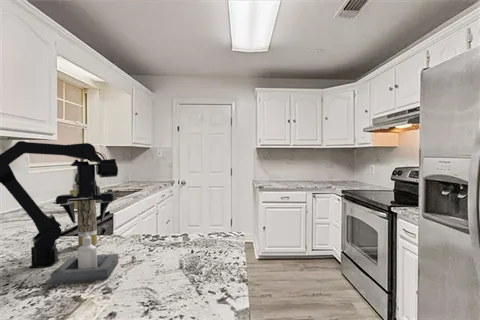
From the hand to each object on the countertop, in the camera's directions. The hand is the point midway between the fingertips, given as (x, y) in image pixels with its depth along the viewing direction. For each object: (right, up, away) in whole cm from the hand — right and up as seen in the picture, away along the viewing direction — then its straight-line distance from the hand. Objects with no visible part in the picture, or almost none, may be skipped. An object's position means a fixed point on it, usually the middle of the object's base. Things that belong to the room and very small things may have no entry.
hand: (87, 222), depth 108 cm
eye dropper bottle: (+9, -12, -17) cm, 23 cm away
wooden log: (-7, -13, +15) cm, 21 cm away
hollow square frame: (+9, -12, -17) cm, 23 cm away
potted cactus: (-58, -14, +108) cm, 123 cm away
